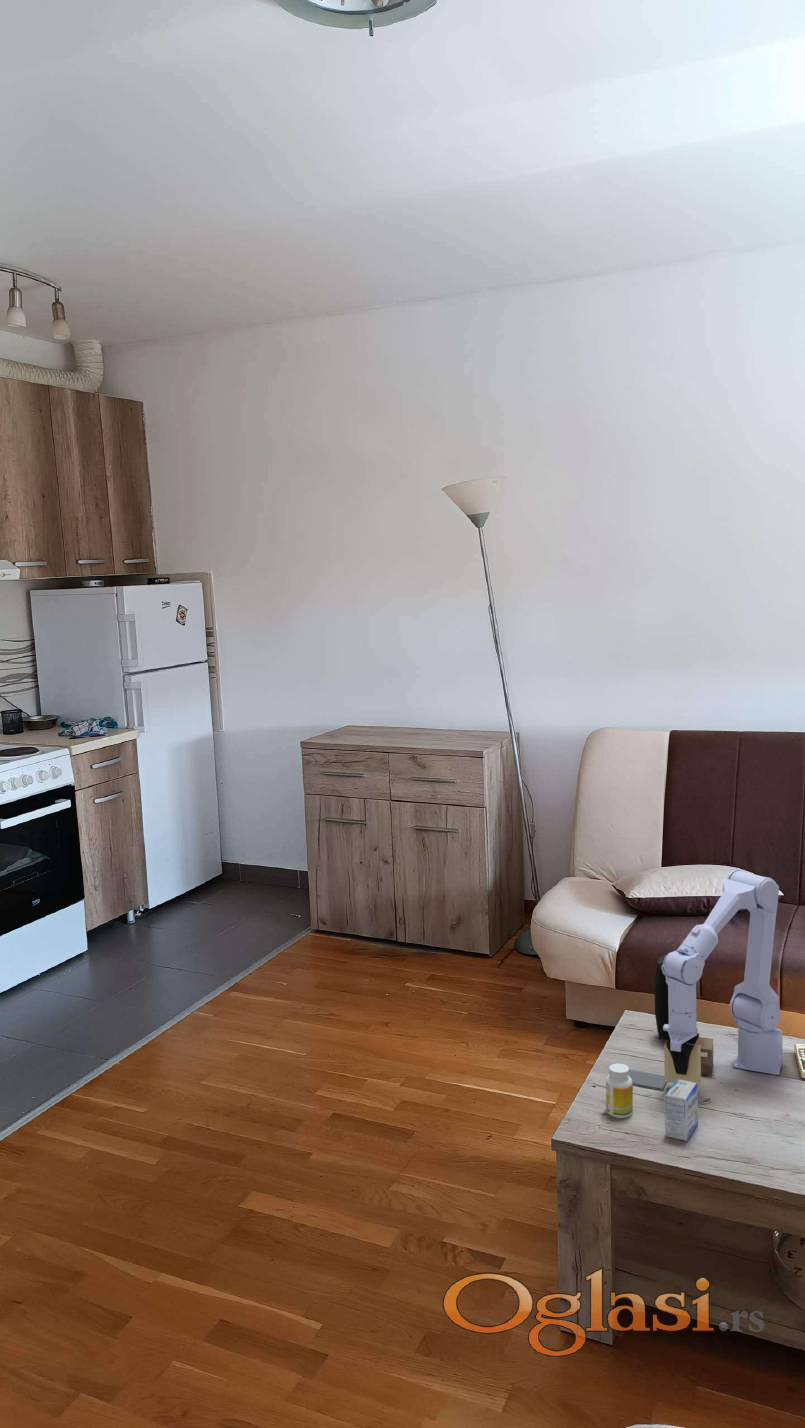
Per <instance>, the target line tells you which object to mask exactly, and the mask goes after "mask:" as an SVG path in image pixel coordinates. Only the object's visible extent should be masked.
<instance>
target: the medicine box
mask: <svg viewBox="0 0 805 1428" xmlns="http://www.w3.org/2000/svg"><path fill="white" fill-rule="evenodd" d="M698 1089H699V1087H698V1086H697V1083H694V1082H690V1081H685V1080H679V1079H677V1080H676V1081H675V1082H674V1083H672V1085H671V1087H670V1088H669V1090H668V1091H667V1092H666V1093H665V1095H664V1129H665V1131H664V1133H665V1137H667V1138H670V1139H671V1138H672V1139H676V1140H679V1141H680V1140H681V1141H685V1142H688V1141H689V1138H690V1137H691V1136H692V1134H693V1132H694V1131H695V1129H696V1127H697V1126H698V1124H699V1103H698V1102H699V1095H698V1093H699V1092H698V1091H699V1090H698Z"/></svg>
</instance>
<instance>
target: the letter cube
mask: <svg viewBox="0 0 805 1428" xmlns="http://www.w3.org/2000/svg"><path fill="white" fill-rule="evenodd" d="M695 1045H701V1076H707V1077H713V1074H714V1073H713V1071H714V1038H710V1037H700V1036H699V1037H698V1039H697V1041H696V1043H695Z"/></svg>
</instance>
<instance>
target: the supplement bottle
mask: <svg viewBox="0 0 805 1428" xmlns="http://www.w3.org/2000/svg"><path fill="white" fill-rule="evenodd" d="M629 1069H630V1067H629V1066H627V1065H626V1064H623V1063H613V1064H611V1065H609V1068H608V1071H609V1072H608V1075H607V1076H606V1078H605V1109H606V1113H607V1114H608V1115H609V1116H611V1117H614V1118H617V1119H625V1118H629V1117H630V1116H631V1115H633V1108H634V1105H633V1103H634V1100H633V1099H634V1097H633V1096H634V1095H633V1086H634V1085H633V1083H632V1079H631V1078H630V1077H629Z"/></svg>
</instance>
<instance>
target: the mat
mask: <svg viewBox="0 0 805 1428" xmlns="http://www.w3.org/2000/svg"><path fill="white" fill-rule="evenodd" d="M629 1077H630V1078H631V1079H632V1083H633V1086H634V1087H640V1088H646V1089H652V1090H656V1091H660V1092H661V1091H664V1089H665V1088H666V1085H667V1083H668V1082H665V1075H662V1074H657V1073H651V1072H645V1071H642V1070H641V1071H640V1070H635V1069H630V1068H629Z"/></svg>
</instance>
